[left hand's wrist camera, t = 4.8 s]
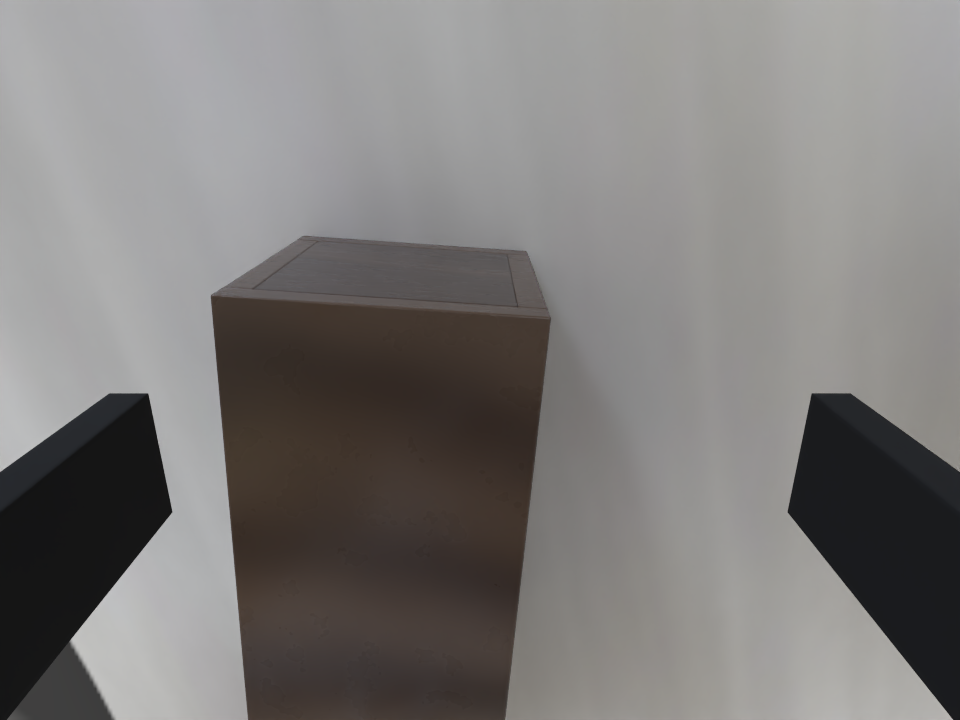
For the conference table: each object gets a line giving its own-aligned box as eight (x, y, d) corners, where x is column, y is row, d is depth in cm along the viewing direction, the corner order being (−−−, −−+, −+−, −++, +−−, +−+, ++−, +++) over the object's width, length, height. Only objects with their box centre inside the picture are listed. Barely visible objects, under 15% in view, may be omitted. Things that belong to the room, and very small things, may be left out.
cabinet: (495, 585, 36) (500, 760, 26) (313, 575, 35) (249, 748, 26) (527, 251, 29) (551, 317, 19) (302, 235, 29) (209, 294, 19)
